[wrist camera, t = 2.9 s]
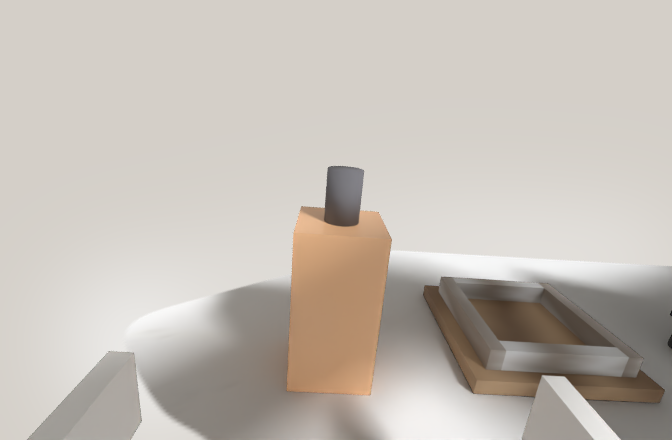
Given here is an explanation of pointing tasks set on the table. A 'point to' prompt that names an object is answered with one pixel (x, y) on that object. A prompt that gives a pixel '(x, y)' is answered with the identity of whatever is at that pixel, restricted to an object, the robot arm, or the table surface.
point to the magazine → (671, 340)
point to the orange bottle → (337, 290)
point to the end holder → (533, 341)
